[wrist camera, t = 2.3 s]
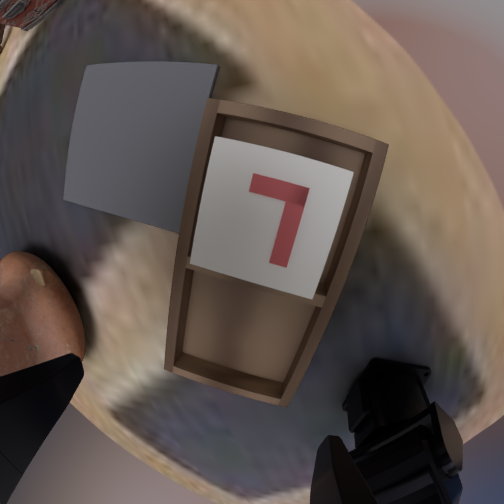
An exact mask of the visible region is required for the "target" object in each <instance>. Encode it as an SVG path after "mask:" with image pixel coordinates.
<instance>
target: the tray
mask: <svg viewBox="0 0 504 504" xmlns="http://www.w3.org/2000/svg"><path fill="white" fill-rule="evenodd" d="M215 136H217V137H222V138H227V139H232V140H237V141H242V142H246V143H251V144H255V145H259V146H264V147H268V148H272V149H276V150H280V151H284V152H288V153H292V154H295V155H299V156H303V157H306V158H310V159H313V160H317V161H320V162H323V163H327V164H330V165H333V166H336V167H340V168H343V169H346V170H349V171H352V172H354V173H353V177H352V180H351V184H350V188H349V191H348V194H347V198H346V201H345V204H344V208H343V211H342V214H341V218H340V221H339V224H338V227H337V230H336V233H335V236H334V239H333V242H332V245H331V248H330V251H329V254H328V257H327V260H326V263H325V266H324V269H323V272H322V275H321V277H320V280H319V283H318V286H317V288H316V291H315V294H314V296H313V299H308V298H305V297H301V296H298V295H294V294H291V293H287V292H283V291H280V290H276V289H273V288H269V287H266V286H263V285H259V284H256V283H252V282H249V281H246V280H242V279H239V278H235V277H232V276H229V275H225V274H222V273H219V272H215V271H212V270H209V269H206V268H202V267H199V266H196V265H193V264H190V258H191V252H192V247H193V241H194V235H195V230H196V224H197V219H198V214H199V208H200V203H201V198H202V193H203V188H204V183H205V179H206V174H207V169H208V165H209V160H210V156H211V151H212V147H213V143H214V138H215ZM388 146H389V144H386V143H384V142H381V141H378V140H376V139H373V138H370V137H367V136H364V135H362V134H359V133H356V132H353V131H350V130H347V129H344V128H340V127H337V126H334V125H331V124H327V123H324V122H320V121H317V120H313V119H310V118H306V117H302V116H298V115H294V114H290V113H286V112H282V111H278V110H273V109H268V108H264V107H259V106H254V105H249V104H243V103H238V102H232V101H225V100H219V99H212V98H207V102H206V105H205V109H204V113H203V117H202V122H201V126H200V130H199V134H198V139H197V143H196V147H195V152H194V157H193V161H192V166H191V171H190V176H189V181H188V186H187V191H186V197H185V202H184V208H183V214H182V219H181V225H180V232H179V238H178V244H177V251H176V258H175V265H174V273H173V281H172V289H171V297H170V306H169V316H168V326H167V337H166V350H165V364H164V369H165V370H168V371H170V372H173V373H175V374H178V375H181V376H183V377H186V378H189V379H191V380H194V381H197V382H200V383H203V384H206V385H209V386H212V387H215V388H218V389H221V390H224V391H228V392H231V393H234V394H237V395H241V396H244V397H248V398H252V399H255V400H259V401H263V402H267V403H271V404H275V405H279V406H283V407H288V405H289V403H290V401H291V399H292V397H293V395H294V394H295V392H296V390H297V388H298V386H299V384H300V382H301V380H302V378H303V376H304V374H305V372H306V370H307V368H308V366H309V364H310V362H311V360H312V358H313V355H314V353H315V351H316V349H317V347H318V345H319V343H320V340H321V338H322V336H323V334H324V332H325V329H326V327H327V325H328V322H329V320H330V318H331V315H332V313H333V311H334V308H335V306H336V304H337V301H338V299H339V296H340V294H341V291H342V289H343V286H344V284H345V281H346V279H347V276H348V273H349V271H350V268H351V265H352V263H353V260H354V257H355V255H356V252H357V249H358V246H359V243H360V240H361V237H362V235H363V232H364V229H365V226H366V223H367V220H368V216H369V213H370V210H371V207H372V204H373V200H374V197H375V194H376V190H377V187H378V183H379V180H380V176H381V173H382V169H383V165H384V162H385V158H386V154H387V150H388Z"/></svg>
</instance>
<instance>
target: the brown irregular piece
mask: <svg viewBox="0 0 504 504" xmlns="http://www.w3.org/2000/svg"><path fill="white" fill-rule="evenodd" d="M4 28H5V24H0V44H1V42H2V38H3V34H4ZM1 51H2V47H1V46H0V53H1Z"/></svg>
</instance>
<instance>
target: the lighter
mask: <svg viewBox="0 0 504 504" xmlns="http://www.w3.org/2000/svg"><path fill="white" fill-rule="evenodd" d="M64 2H65V0H0V24H5V25H10V26H14V27H19V28H21V30H25V31H28V30H30V29H31V28H33V27H35V26H36V25H37V24H39V23H40V22H41V21H43V20H44V19H45V18H46V17H48V16H49V15H50V14H51V13H52V12H54V11H55V10H56V9H57V8H58V7H59V6H60V5H61V4H63V3H64Z"/></svg>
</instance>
